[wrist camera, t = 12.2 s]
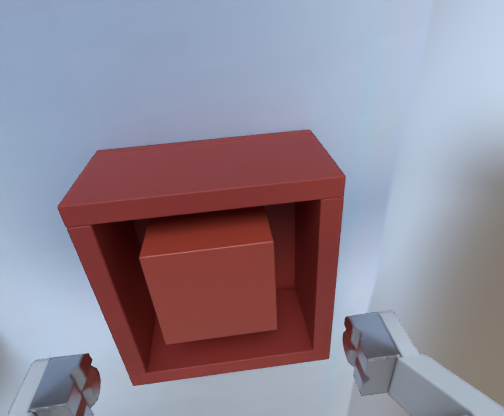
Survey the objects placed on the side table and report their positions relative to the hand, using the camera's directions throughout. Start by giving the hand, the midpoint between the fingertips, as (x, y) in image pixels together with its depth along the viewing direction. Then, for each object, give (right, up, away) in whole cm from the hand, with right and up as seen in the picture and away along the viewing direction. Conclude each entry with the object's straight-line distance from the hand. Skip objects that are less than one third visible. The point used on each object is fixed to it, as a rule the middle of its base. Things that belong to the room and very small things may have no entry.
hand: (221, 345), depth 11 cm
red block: (-1, +3, +5) cm, 6 cm away
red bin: (-1, +3, +6) cm, 7 cm away
